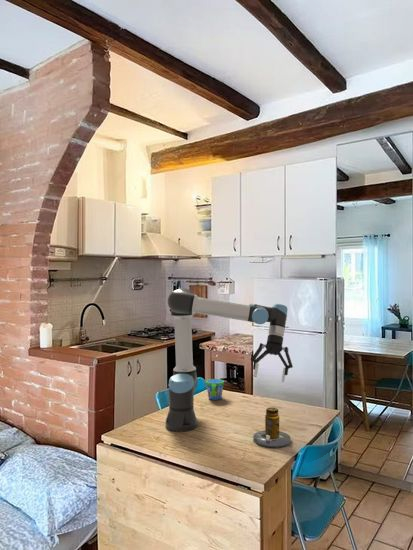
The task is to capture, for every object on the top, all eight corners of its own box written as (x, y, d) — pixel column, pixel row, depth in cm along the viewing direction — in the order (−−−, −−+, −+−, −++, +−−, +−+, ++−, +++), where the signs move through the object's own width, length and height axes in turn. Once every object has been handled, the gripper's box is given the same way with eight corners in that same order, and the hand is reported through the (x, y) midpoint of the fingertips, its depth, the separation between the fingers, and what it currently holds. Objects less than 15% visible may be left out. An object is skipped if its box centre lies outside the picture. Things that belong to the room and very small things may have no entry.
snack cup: (209, 394, 252) (208, 377, 252) (226, 395, 250) (226, 378, 250) (202, 402, 237) (202, 383, 237) (221, 403, 235) (221, 385, 235)
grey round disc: (248, 444, 179) (248, 434, 179) (258, 431, 193) (258, 421, 193) (286, 450, 172) (286, 439, 172) (293, 436, 187) (293, 426, 187)
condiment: (283, 437, 182) (283, 409, 182) (268, 441, 178) (268, 413, 178) (272, 432, 188) (272, 405, 188) (257, 436, 184) (257, 408, 184)
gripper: (302, 340, 205) (296, 385, 199) (253, 334, 215) (246, 375, 209) (299, 337, 198) (293, 383, 192) (249, 330, 209) (241, 373, 203)
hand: (268, 379), depth 201 cm, fingers open, 13 cm apart
